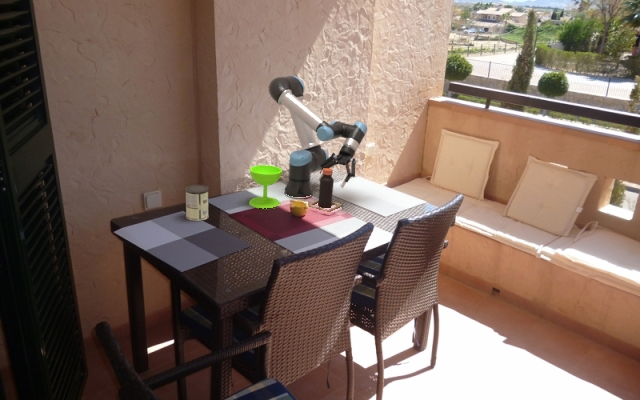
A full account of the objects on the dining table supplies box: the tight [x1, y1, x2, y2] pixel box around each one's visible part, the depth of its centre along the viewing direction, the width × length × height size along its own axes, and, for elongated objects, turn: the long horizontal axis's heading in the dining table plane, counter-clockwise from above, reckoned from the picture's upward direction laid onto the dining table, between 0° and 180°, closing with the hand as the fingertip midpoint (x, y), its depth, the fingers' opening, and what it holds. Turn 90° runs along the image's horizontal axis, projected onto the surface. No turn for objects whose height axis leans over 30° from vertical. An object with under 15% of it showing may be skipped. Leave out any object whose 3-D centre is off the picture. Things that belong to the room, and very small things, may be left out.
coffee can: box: [185, 184, 210, 222], centre depth 236 cm, size 10×10×14 cm
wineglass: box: [248, 164, 283, 210], centre depth 259 cm, size 16×16×18 cm
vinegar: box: [318, 168, 335, 208], centre depth 257 cm, size 7×7×20 cm
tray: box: [307, 199, 344, 212], centre depth 260 cm, size 13×13×2 cm
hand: (330, 183), depth 256 cm, fingers open, 13 cm apart
